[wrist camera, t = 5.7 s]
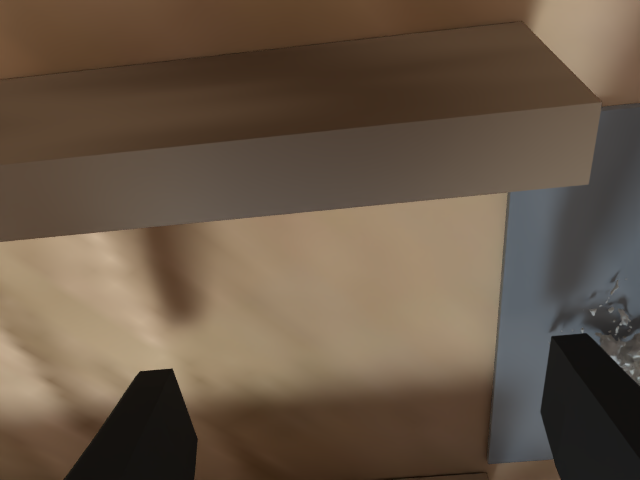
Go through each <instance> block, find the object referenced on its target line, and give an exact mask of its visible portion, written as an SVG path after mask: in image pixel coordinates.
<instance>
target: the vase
mask: <svg viewBox="0 0 640 480" xmlns="http://www.w3.org/2000/svg"><path fill="white" fill-rule="evenodd" d="M625 280H626V279H625ZM618 281H619V279H618V280H617V281H616V285H615V287H614V288H613V289H612V291H611V292H610V295H612V294H613V293H614V291H615V290H616V289H617V288H618V287H619V286H618ZM608 298H609V297H608ZM607 302H608V300H607V301H606V303H607ZM600 306H602V305H600ZM600 306H599V307H600ZM596 310H597V309H589V311H590V312H591V313H592V315H593V316H594V315H595V312H596ZM613 310H614V307H611V308H609V309H608V312H610V313H612V312H613ZM618 312H619V313H620V315H621V322H620V324H619V325H622V324H623V325H626V326H627V324H628V320H629V322H631V320H630V319H629V317H628V315H627V314H626V313H625V312H624V310H623V309H619V308H618ZM613 322H615V320H613ZM629 327H630V328H632V326H629ZM618 329H619V326H617V328H616V332H615V333H618ZM572 331H573V330H572ZM583 331H584V329H583V328H581V332H582V333H583ZM630 331H631V330H630V329H629V330H628V332H630ZM561 332H563V331H561ZM608 332H609V333H610V332H611V330H610V331H608ZM595 335H596V336H599V337H600V340H599V341H600V343H601V344H600V346H601V347H602V348H603V350H604V351H605V352H606V353H607V354H608V355H609V356H610V357H611V358H612V359H613V360H614V361H615V362H616V363H617V364H618V365H619V366H620V367H621V368H622V369H623V370H624V371H625V372H626V373H627V374H628V375H629V376H630V377H631V378H632V379H633V380H634V381H635V382H636V383H637V384H638V385H639V386H640V333H638V334H636V333H635V334H634V336H633V339H632V340H630V341H626V342H623V341H621V342H620V339H619V337H618V341H616V340H615V339H614V338H613V337H612V335H611V334H610V335H602V333H595ZM615 335H617V334H615ZM623 338H624V339H625V338H626V336H623ZM549 344H550V343H549Z"/></svg>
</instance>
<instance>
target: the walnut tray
mask: <svg viewBox="0 0 640 480" xmlns="http://www.w3.org/2000/svg"><path fill="white" fill-rule="evenodd" d="M601 106H602V101H601V100H600V99H599V98H598V97H597V96H596V95H595V94H594V93H593V92H592V91H591V90H590V89H589V88H588V87H587V86H586V85H585V84H584V83H583V82H582V81H581V80H580V79H579V78H578V77H577V76H576V75H575V74H574V73H573V72H572V71H571V70H570V69H569V68H568V67H567V66H566V65H565V64H564V63H563V62H562V61H561V60H560V59H559V58H558V57H557V56H556V55H555V54H554V53H553V52H552V51H551V50H550V49H549V48H548V47H547V46H546V45H545V44H544V43H543V42H542V41H541V40H540V39H539V38H538V37H537V36H536V35H535V34H534V33H533V32H532V31H531V30H530V29H529V28H528V27H527V26H526V25H525V24H524V23H523V22H522V21H521V22H513V23H504V24H495V25H486V26H477V27H468V28H459V29H450V30H441V31H432V32H423V33H415V34H406V35H397V36H388V37H379V38H370V39H361V40H352V41H343V42H334V43H325V44H317V45H308V46H299V47H290V48H281V49H272V50H263V51H254V52H245V53H236V54H227V55H218V56H210V57H201V58H192V59H183V60H174V61H165V62H156V63H147V64H138V65H129V66H120V67H112V68H103V69H94V70H85V71H76V72H67V73H58V74H49V75H40V76H31V77H22V78H14V79H5V80H0V242H4V241H14V240H24V239H35V238H45V237H55V236H65V235H76V234H86V233H96V232H106V231H117V230H127V229H137V228H147V227H158V226H168V225H178V224H188V223H199V222H209V221H219V220H229V219H240V218H250V217H260V216H270V215H281V214H291V213H301V212H311V211H322V210H332V209H342V208H352V207H363V206H373V205H383V204H393V203H404V202H414V201H424V200H434V199H445V198H455V197H465V196H475V195H486V194H496V193H506V192H516V191H527V190H537V189H547V188H557V187H568V186H578V185H588V184H589V179H590V173H591V167H592V161H593V155H594V149H595V143H596V137H597V131H598V125H599V119H600V113H601ZM395 480H488V477H487V473H476V474H463V475H449V476H436V477H422V478H408V479H395Z"/></svg>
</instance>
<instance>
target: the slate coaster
mask: <svg viewBox="0 0 640 480" xmlns="http://www.w3.org/2000/svg"><path fill="white" fill-rule="evenodd" d="M618 279H619V281H618V286H619V287H618V288H617V289H616V290H615V291H614V293H613V294H612V295H610V292H611V291H612V289H613V288H614V287H615V285H616V281H617V280H618ZM625 279H626V280H625ZM608 297H609V298H608ZM607 300H608V302H607V303H606V301H607ZM600 305H602V306H600ZM599 306H600V307H599ZM611 307H614V310H613V312H612V313H610V312H608V309H609V308H611ZM618 308H619V309H623V310H624V312H625V313H626V314H627V315H628V317H629V319H630V320H631V322H629V320H628V324H627V326H626V325H623V324H622V325H619V324H620V322H621V315H620V313H619V312H618ZM589 309H597V310H596V312H595V315H594V316H593V315H592V313H591V312H590V311H589ZM613 320H615V322H613ZM617 326H619V329H618V333H615V332H616V328H617ZM629 326H632V328H630V327H629ZM581 328H583V329H584V331H583V333H587V334H588V335H589V336H590V337H592V338H593V339H594V340H595V341H596V342H597V343H598V344H599V345H600V344H601V343H600V341H599V340H600V337H599V336H596V335H595V333H602V335H610V334H611V335H612V337H613V338H614V339H615V340H616V341H618V337H619V339H620V342H621V341H623V342H626V341H630V340H632V339H633V336H634V334H635V333H636V334H638V333H640V103H634V104H624V105H615V106H605V107H601V113H600V119H599V125H598V131H597V137H596V143H595V149H594V155H593V161H592V167H591V173H590V179H589V184H588V185H578V186H568V187H557V188H547V189H537V190H527V191H516V192H508V195H507V208H506V221H505V234H504V246H503V259H502V272H501V285H500V297H499V310H498V323H497V336H496V348H495V361H494V374H493V387H492V399H491V412H490V425H489V438H488V450H487V461H488V464H497V463H510V462H524V461H537V460H551V459H553V455H552V452H551V449H550V445H549V442H548V438H547V435H546V431H545V427H544V424H543V420H542V416H541V413H540V410H541V403H542V396H543V389H544V383H545V376H546V369H547V362H548V356H549V349H550V344H549V343H550V342H551V336H558V335H570V334H581V333H582V332H581ZM629 329H630V330H631V331H630V332H628V330H629ZM572 330H573V331H572ZM610 330H611V332H610V333H609V332H608V331H610ZM561 331H563V332H561ZM615 334H617V335H615ZM623 336H626V338H625V339H624V338H623Z"/></svg>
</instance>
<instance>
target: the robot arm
mask: <svg viewBox="0 0 640 480" xmlns="http://www.w3.org/2000/svg"><path fill="white" fill-rule="evenodd" d="M540 413H541V416H542V420H543V424H544V427H545V431H546V435H547V438H548V442H549V445H550V449H551V452H552V455H553V459H554V462H555V465H556V468H557V471H558V473H559V476H560V478H561V480H640V386H639V385H638V384H637V383H636V382H635V381H634V380H633V379H632V378H631V377H630V376H629V375H628V374H627V373H626V372H625V371H624V370H623V369H622V368H621V367H620V366H619V365H618V364H617V363H616V362H615V361H614V360H613V359H612V358H611V357H610V356H609V355H608V354H607V353H606V352H605V351H604V350H603V348H602V347H601V346H600V345H599V344H598V343H597V342H596V341H595V340H594V339H593V338H592V337H590V336H589V335H588V334H587V333H581V334H570V335H558V336H551V342H550V349H549V356H548V362H547V369H546V376H545V383H544V389H543V396H542V403H541V410H540ZM197 440H198V439H197V436H196V433H195V430H194V428H193V425H192V422H191V419H190V416H189V413H188V411H187V408H186V405H185V402H184V399H183V397H182V394H181V391H180V388H179V385H178V383H177V380H176V377H175V374H174V371H173V369H162V370H150V371H140V372H139V373H138V374H137V376H136V377H135V378H134V380H133V381H132V383H131V384H130V386H129V387H128V389H127V390H126V392H125V393H124V395H123V396H122V398H121V399H120V401H119V402H118V404H117V405H116V407H115V408H114V410H113V411H112V412H111V414H110V415H109V417H108V418H107V420H106V421H105V423H104V424H103V426H102V427H101V428H100V430H99V431H98V433H97V434H96V436H95V437H94V439H93V440H92V441H91V443H90V444H89V446H88V447H87V448H86V450H85V451H84V452H83V454H82V455H81V457H80V458H79V459H78V461H77V462H76V464H75V465H74V466H73V468H72V469H71V470H70V472H69V473H68V475H67V476H66V477H65V479H64V480H194V475H195V464H196V452H197Z"/></svg>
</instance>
